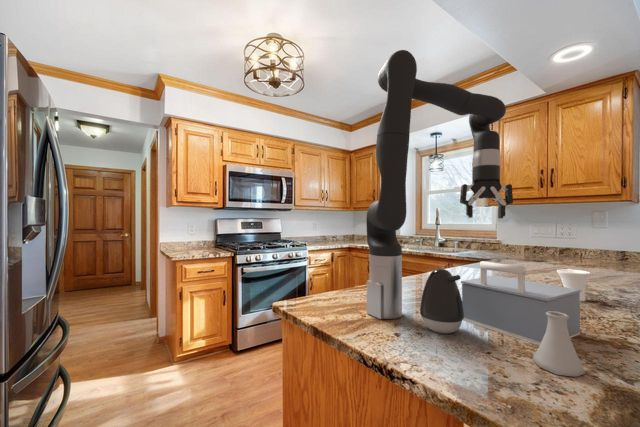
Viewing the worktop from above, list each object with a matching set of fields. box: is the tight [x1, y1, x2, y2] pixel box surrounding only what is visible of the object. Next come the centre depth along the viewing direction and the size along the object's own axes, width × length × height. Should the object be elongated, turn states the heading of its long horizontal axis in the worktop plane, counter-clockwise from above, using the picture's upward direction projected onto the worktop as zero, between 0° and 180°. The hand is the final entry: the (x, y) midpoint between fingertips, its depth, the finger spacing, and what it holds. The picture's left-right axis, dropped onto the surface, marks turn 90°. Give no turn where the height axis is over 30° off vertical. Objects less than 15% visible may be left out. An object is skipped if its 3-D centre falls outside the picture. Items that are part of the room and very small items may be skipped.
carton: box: [461, 283, 581, 346], centre depth 76 cm, size 16×20×10 cm
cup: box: [556, 268, 591, 302], centre depth 102 cm, size 9×9×10 cm
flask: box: [532, 311, 586, 377], centre depth 55 cm, size 7×7×10 cm
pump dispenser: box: [419, 268, 464, 335], centre depth 73 cm, size 10×10×15 cm
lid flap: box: [460, 260, 581, 301], centre depth 76 cm, size 16×20×7 cm
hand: (485, 218), depth 91 cm, fingers open, 8 cm apart
